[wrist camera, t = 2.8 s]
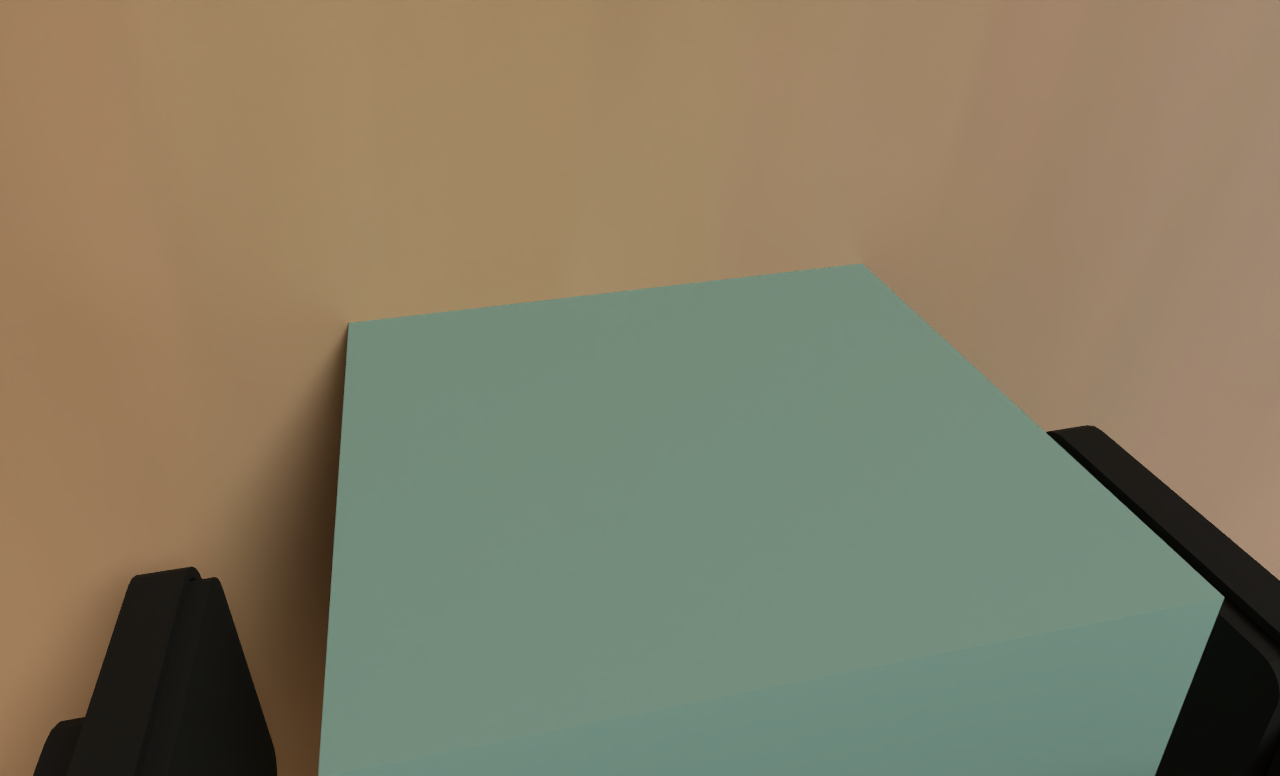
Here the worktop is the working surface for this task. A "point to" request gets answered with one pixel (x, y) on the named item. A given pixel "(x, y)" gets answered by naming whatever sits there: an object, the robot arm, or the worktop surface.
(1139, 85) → the worktop surface
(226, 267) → the worktop surface
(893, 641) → the teal cube
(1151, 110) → the worktop surface
